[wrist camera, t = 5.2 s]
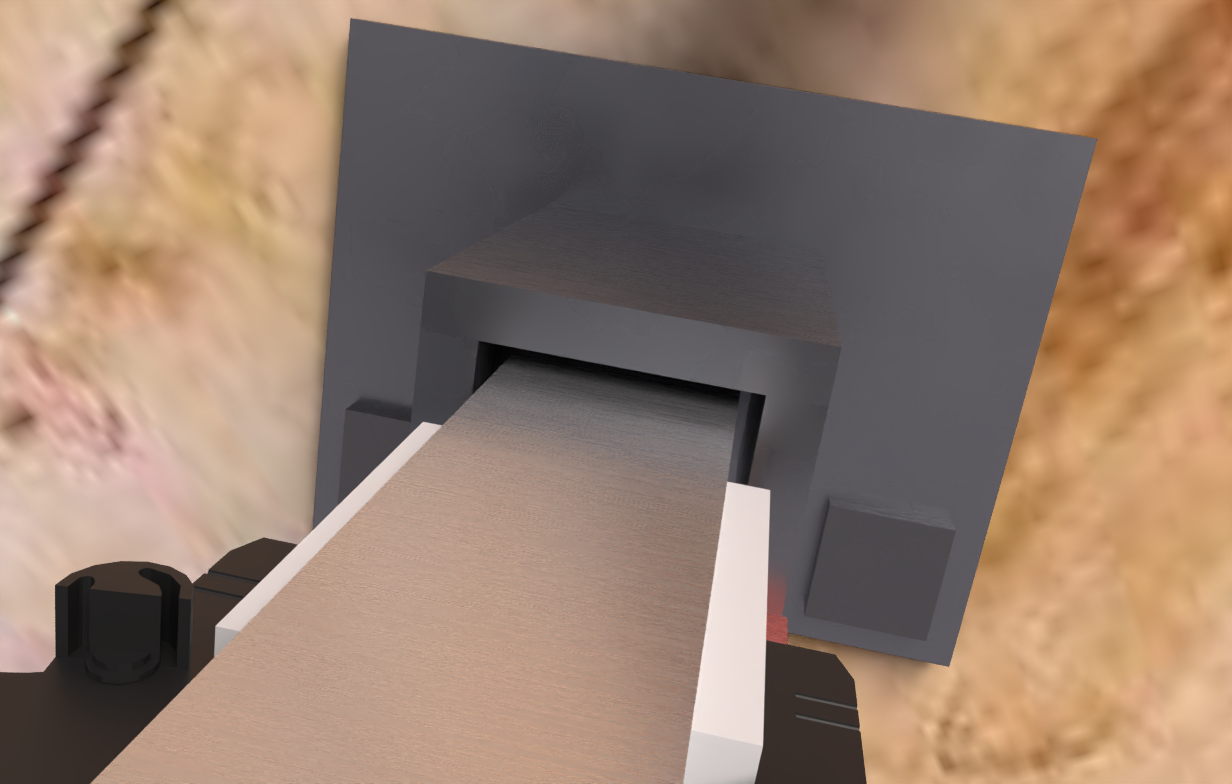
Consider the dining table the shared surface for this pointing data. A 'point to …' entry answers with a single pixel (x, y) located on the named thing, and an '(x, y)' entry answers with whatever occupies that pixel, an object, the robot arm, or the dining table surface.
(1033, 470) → the dining table surface
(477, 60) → the housing
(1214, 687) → the dining table surface
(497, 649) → the column
